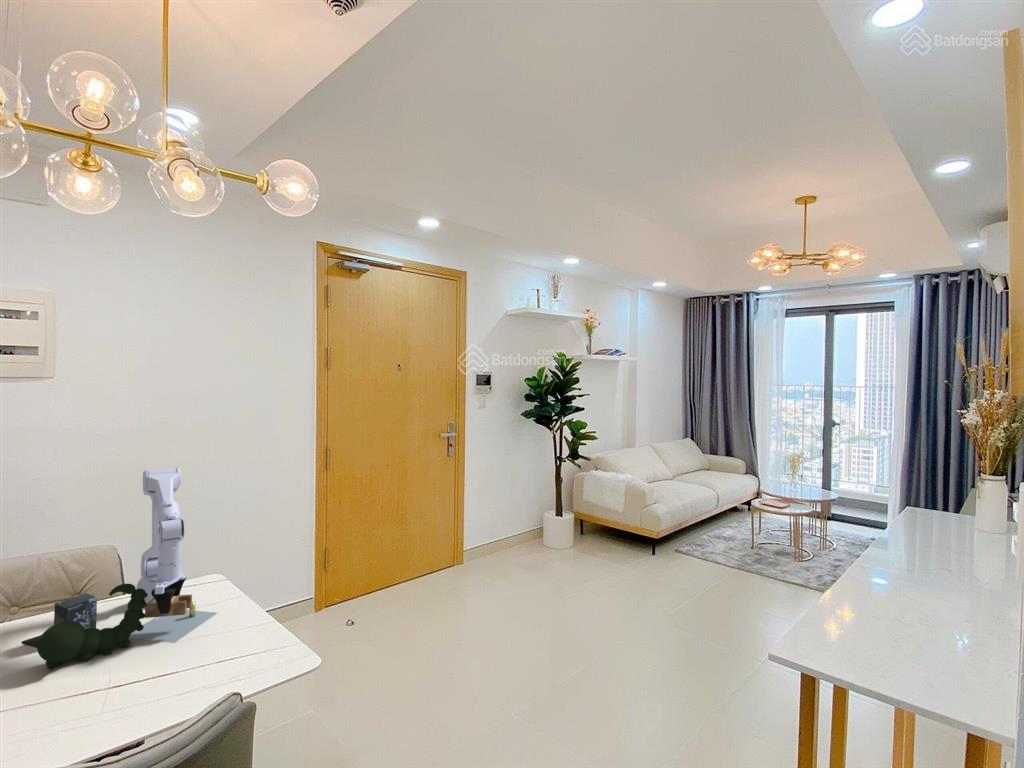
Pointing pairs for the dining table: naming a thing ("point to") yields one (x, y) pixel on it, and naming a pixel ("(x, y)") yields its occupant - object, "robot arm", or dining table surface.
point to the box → (77, 610)
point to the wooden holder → (177, 607)
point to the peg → (192, 610)
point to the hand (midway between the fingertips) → (168, 608)
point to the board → (171, 627)
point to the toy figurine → (90, 633)
